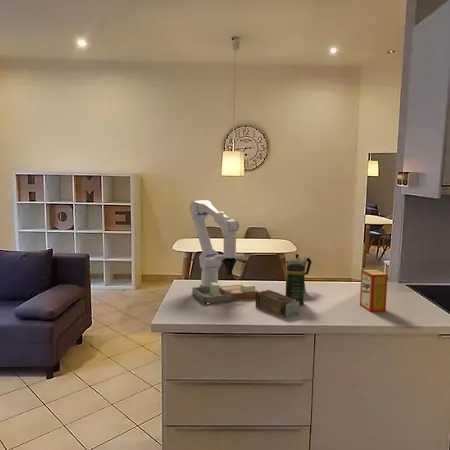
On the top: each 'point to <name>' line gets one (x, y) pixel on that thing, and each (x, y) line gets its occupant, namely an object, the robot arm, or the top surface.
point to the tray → (209, 295)
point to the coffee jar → (295, 280)
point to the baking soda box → (373, 290)
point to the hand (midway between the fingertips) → (229, 274)
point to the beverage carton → (277, 303)
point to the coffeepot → (303, 263)
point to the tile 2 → (247, 287)
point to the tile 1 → (214, 289)
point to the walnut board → (237, 292)
